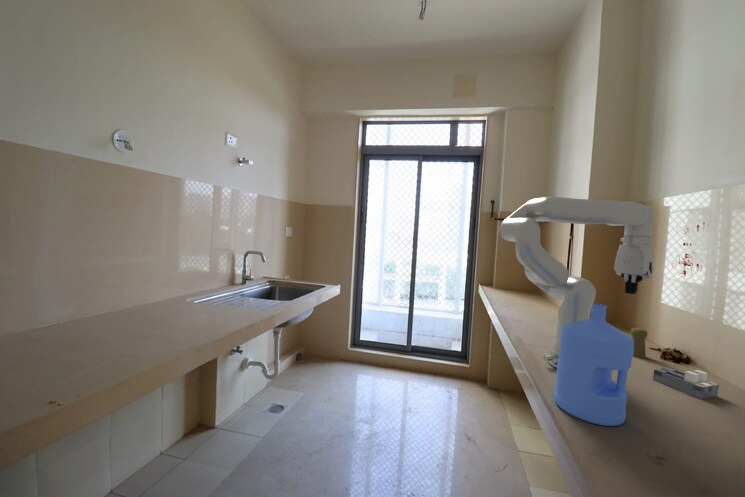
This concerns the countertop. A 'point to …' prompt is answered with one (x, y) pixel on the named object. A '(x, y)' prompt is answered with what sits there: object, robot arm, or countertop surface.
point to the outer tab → (701, 375)
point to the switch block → (685, 383)
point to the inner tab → (691, 377)
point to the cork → (639, 342)
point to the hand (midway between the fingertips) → (630, 293)
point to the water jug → (593, 369)
